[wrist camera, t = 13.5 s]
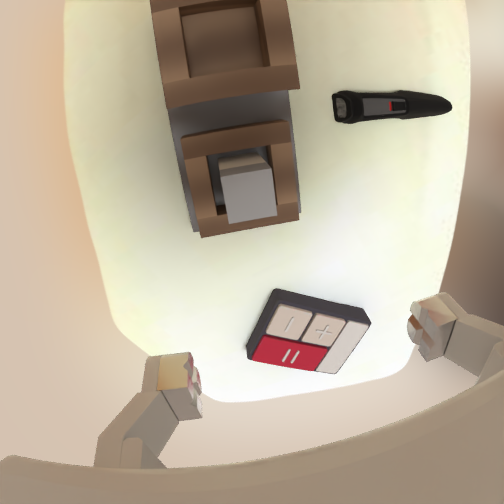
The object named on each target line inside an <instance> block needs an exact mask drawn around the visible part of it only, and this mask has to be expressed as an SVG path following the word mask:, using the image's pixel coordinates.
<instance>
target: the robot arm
mask: <svg viewBox="0 0 504 504" xmlns="http://www.w3.org/2000/svg"><path fill="white" fill-rule="evenodd" d="M410 311H411V313H412V315H411V317H410V318H409V319H408V323H407V330H408V335H409V337H410V339H411V340H412V342H413V343H415V344H418V345H419V349H418V350H419V352H420V353H421V355H422V356H423V358H424V359H425V360H426V362H428V361H430V360H433V359H436V358H438V357H441V356H443V355H444V357H446V358H447V359H449V360H451V361H453V362H454V363H456V364H458V365H459V366H461V367H463V368H464V369H466V370H468V371H469V372H471V373H473V374H474V375H476V376H478V379H477V381H476V383H475V385H474V386H473V387H471V388H469V389H468V390H466V391H464V392H462V393H460V394H458V395H456V396H454V397H452V398H450V399H448V400H446V401H443V402H441V403H439V404H437V405H435V406H433V407H430V408H428V409H426V410H424V411H421V412H419V413H416V414H414V415H412V416H409V417H407V418H404V419H402V420H399V421H397V422H394V423H391V424H389V425H386V426H383V427H381V428H378V429H375V430H372V431H369V432H366V433H363V434H360V435H357V436H353V437H350V438H347V439H344V440H340V441H337V442H333V443H330V444H326V445H322V446H318V447H315V448H310V449H307V450H302V451H298V452H293V453H289V454H284V455H279V456H274V457H268V458H262V459H256V460H250V461H244V462H237V463H229V464H221V465H211V466H200V467H187V468H166V467H165V465H164V464H163V463H162V462H161V461H160V460H159V459H158V456H159V455H160V453H161V451H162V450H163V448H164V446H165V445H166V443H167V442H168V440H169V438H170V437H171V435H172V433H173V432H174V430H175V428H176V427H177V425H178V424H179V421H184V420H192V419H199V418H202V402H201V400H200V397H199V395H200V394H201V393H202V391H201V381H200V376H199V372H198V370H197V368H196V367H195V366H193V357H192V355H191V353H190V352H185V353H176V354H167V355H161V356H150V357H148V358H147V360H146V364H145V371H144V378H143V384H142V391H141V393H137V394H136V395H135V396H134V397H133V398H132V400H131V401H130V402H129V403H128V404H127V405H126V406H125V407H124V409H123V410H122V411H121V412H120V413H119V414H118V415H117V416H116V418H115V419H114V420H113V421H112V422H111V423H110V424H109V425H108V427H107V428H106V429H105V430H104V431H103V432H102V433H101V434H100V436H99V437H98V442H97V448H96V454H95V460H94V466H93V467H89V466H79V465H70V464H61V463H55V462H48V461H42V460H36V459H31V458H26V457H21V456H16V455H11V456H7V457H6V458H4V459H3V460H1V462H0V504H504V326H502V325H499V324H496V323H494V322H491V321H488V320H486V319H483V318H480V317H478V316H475V315H472V314H470V315H468V314H467V313H466V312H465V311H464V310H463V309H462V308H461V307H460V305H459V304H458V303H457V302H456V301H455V300H454V299H453V298H452V297H451V296H450V295H449V294H448V293H446V292H442V293H439V294H436V295H434V296H430V297H427V298H424V299H421V300H418V301H415V302H413V303H412V305H411V308H410Z"/></svg>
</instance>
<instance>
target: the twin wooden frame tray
mask: <svg viewBox="0 0 504 504" xmlns="http://www.w3.org/2000/svg"><path fill="white" fill-rule="evenodd" d="M150 6H151V13H152V20H153V28H154V34H155V41H156V48H157V54H158V60H159V66H160V73H161V78H162V84H163V90H164V96H165V101H166V107H167V109H168V114H169V120H170V125H171V130H172V135H173V140H174V145H175V150H176V155H177V160H178V165H179V170H180V174H181V179H182V184H183V188H184V193H185V197H186V202H187V206H188V210H189V215H190V219H191V223H192V228H193V232H198V231H200V235H201V238H204V237H209V236H214V235H220V234H225V233H230V232H236V231H241V230H247V229H252V228H258V227H263V226H269V225H274V224H280V223H286V222H291V221H297V220H299V213H301V204H300V193H299V183H298V172H297V162H296V153H295V144H294V135H293V126H292V118H291V110H290V102H289V94H288V90H293V89H300V84H299V77H298V70H297V63H296V56H295V49H294V43H293V36H292V30H291V24H290V18H289V12H288V7H287V1H286V0H150ZM252 152H257V153H258V154H259V155H260V156H261V157H262V158H263V159H264V160H265V162H266V163H267V164H268V165H269V166H270V167H271V168H272V176H273V184H274V192H275V201H276V209H277V216H271V217H265V218H260V219H254V220H249V221H243V222H238V223H232V224H229V221H228V216H227V210H226V205H225V199H224V194H223V188H222V183H221V177H220V171H219V164H218V158H222V157H228V156H234V155H239V154H246V153H252Z"/></svg>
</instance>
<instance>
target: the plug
mask: <svg viewBox="0 0 504 504" xmlns="http://www.w3.org/2000/svg"><path fill="white" fill-rule="evenodd" d="M218 164H219V171H220V177H221V183H222V188H223V194H224V199H225V205H226V210H227V216H228V221H229V224H232V223H238V222H243V221H249V220H254V219H260V218H265V217H271V216H277V209H276V201H275V192H274V184H273V176H272V168H271V167H270V166H269V165H268V164H267V163H266V162H265V160H264V159H263V158H262V157H261V156H260V155H259V154H258V153H257V152H252V153H246V154H239V155H234V156H228V157H222V158H218Z"/></svg>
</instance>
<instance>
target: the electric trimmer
mask: <svg viewBox="0 0 504 504" xmlns="http://www.w3.org/2000/svg"><path fill="white" fill-rule="evenodd" d="M332 101H333V109H334V117H335V120H336V121H337V122H342V123H346V124H353V123H357V122H361V121H369V120H377V119H388V118H400V119H412V118H420V117H428V116H436V115H442V114H445V113H448V112H449V111H451V110H452V105H451V103H450V102H449V101H448V100H446V99H444V98H443V97H440V96H437V95H431V94H425V93H419V92H412V91H402V90H400V91H397V92H394V93H356V92H351V91H340V92H338V93H337V94H333V95H332Z"/></svg>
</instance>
